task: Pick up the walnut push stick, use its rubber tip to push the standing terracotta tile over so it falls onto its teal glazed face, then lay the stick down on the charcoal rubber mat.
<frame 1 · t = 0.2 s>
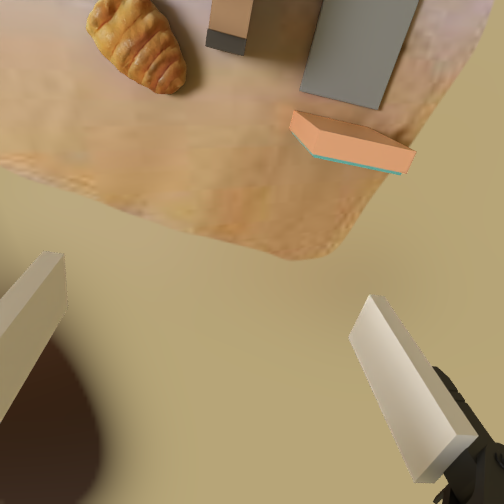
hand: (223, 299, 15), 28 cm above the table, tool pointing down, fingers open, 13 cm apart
tile: (329, 128, 38), on the table
pastry: (142, 38, 33), on the table
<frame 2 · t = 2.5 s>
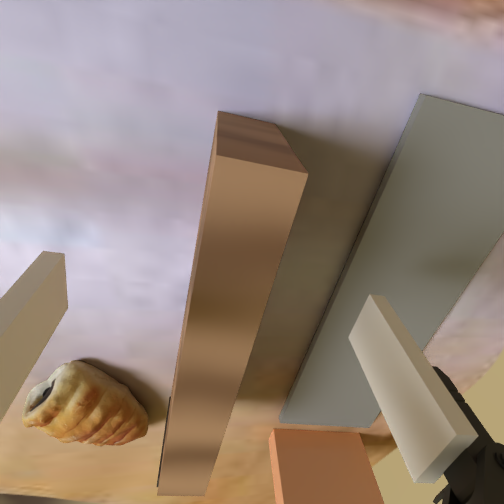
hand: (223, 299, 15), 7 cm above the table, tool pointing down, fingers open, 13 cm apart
mat: (385, 309, 25), on the table
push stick: (211, 284, 23), on the table
tile: (314, 436, 34), on the table
pastry: (94, 389, 28), on the table
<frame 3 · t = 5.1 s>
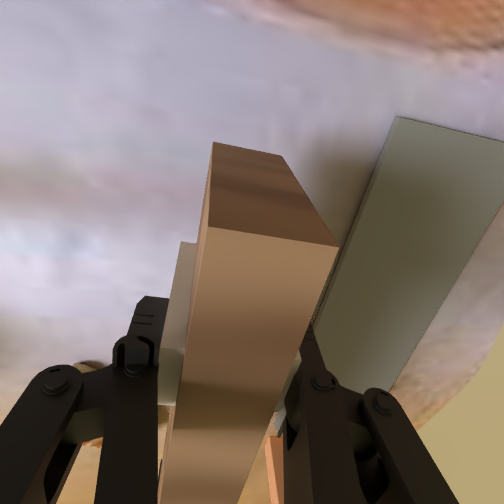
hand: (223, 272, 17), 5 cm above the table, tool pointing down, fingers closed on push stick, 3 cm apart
mat: (373, 315, 26), on the table
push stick: (208, 337, 19), point 5 cm above the table, touching gripper
tile: (309, 443, 34), on the table
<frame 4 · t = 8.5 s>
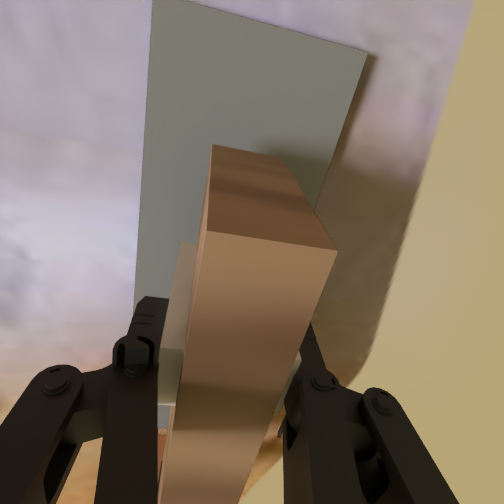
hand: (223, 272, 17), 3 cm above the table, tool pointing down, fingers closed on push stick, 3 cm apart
mat: (211, 288, 21), on the table
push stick: (208, 339, 19), point 3 cm above the table, touching gripper
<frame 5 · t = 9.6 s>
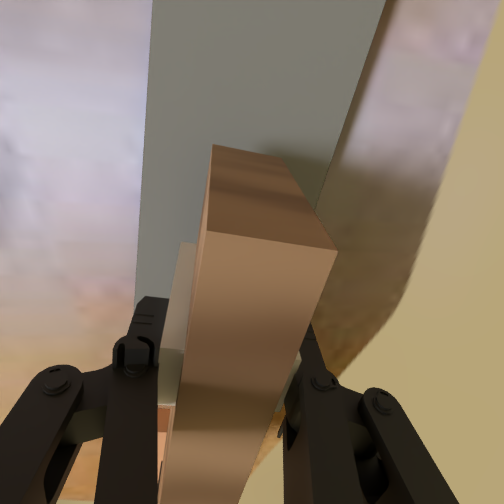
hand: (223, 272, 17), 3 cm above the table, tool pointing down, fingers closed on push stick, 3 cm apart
mat: (230, 200, 18), on the table
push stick: (208, 339, 19), point 3 cm above the table, touching gripper
tile: (186, 420, 26), point 1 cm above the table, tilted 90°
when the fingers open (1 cm above the table, at t = 11.8 s): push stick stays where it is, resting on mat.
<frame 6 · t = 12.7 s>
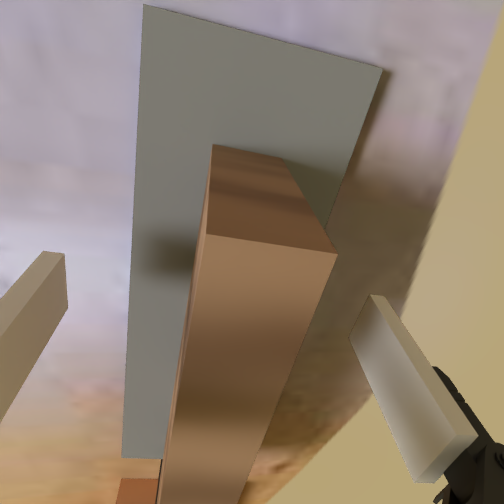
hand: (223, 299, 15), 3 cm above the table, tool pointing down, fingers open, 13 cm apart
mat: (211, 317, 19), on the table
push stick: (208, 338, 19), point 1 cm above the table, touching mat
tile: (175, 490, 28), point 1 cm above the table, tilted 90°
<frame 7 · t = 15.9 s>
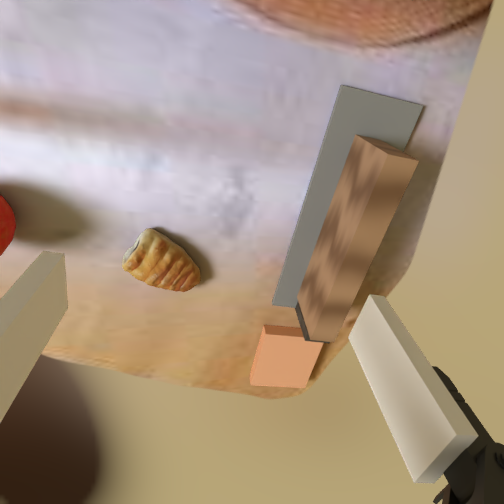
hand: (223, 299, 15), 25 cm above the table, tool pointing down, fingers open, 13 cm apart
mat: (335, 218, 41), on the table
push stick: (333, 228, 41), point 1 cm above the table, touching mat
tile: (294, 331, 49), point 1 cm above the table, tilted 90°
pastry: (162, 255, 42), on the table
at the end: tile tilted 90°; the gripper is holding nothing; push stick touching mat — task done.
